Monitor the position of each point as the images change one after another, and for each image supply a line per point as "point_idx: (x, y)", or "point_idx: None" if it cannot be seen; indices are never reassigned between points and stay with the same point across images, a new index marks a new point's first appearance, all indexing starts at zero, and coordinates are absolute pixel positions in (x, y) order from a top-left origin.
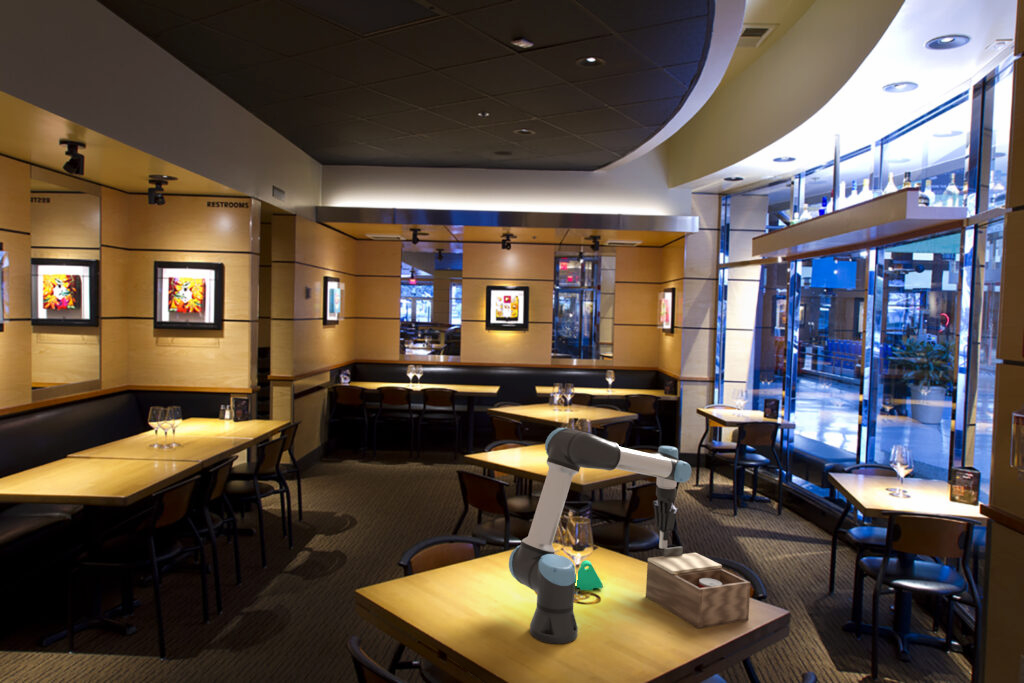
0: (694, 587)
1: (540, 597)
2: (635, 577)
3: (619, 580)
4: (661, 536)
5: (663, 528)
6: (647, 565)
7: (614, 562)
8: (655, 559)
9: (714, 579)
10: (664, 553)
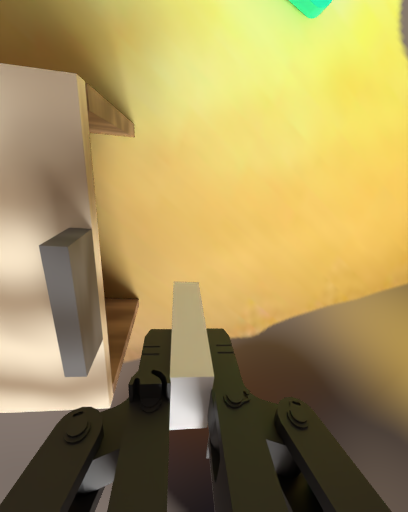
0: None
1: None
2: (279, 213)
3: (287, 140)
4: (180, 336)
5: (155, 426)
6: (96, 91)
7: (395, 234)
8: (31, 114)
9: None
10: (73, 234)
